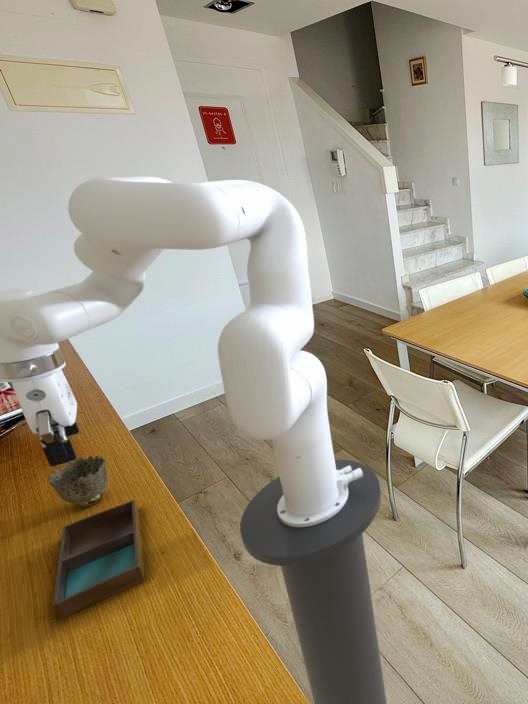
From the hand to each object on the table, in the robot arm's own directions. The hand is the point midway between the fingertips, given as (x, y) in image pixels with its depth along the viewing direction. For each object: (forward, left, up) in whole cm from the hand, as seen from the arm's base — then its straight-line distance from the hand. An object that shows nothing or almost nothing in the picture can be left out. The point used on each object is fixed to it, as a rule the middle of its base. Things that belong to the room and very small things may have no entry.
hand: (66, 448), depth 75 cm
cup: (0, 0, -13) cm, 13 cm away
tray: (-2, +18, -12) cm, 22 cm away
